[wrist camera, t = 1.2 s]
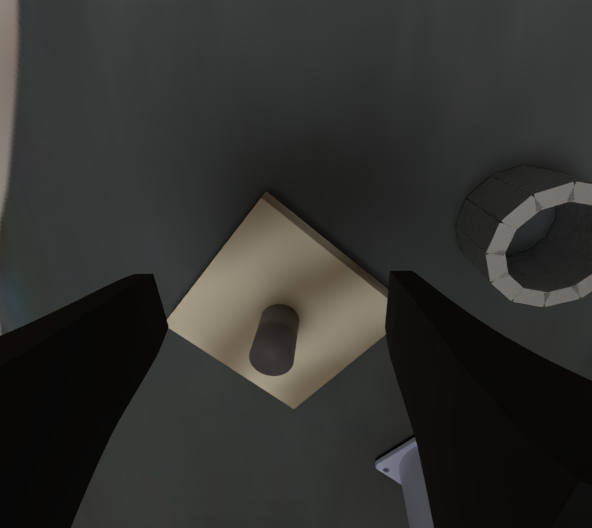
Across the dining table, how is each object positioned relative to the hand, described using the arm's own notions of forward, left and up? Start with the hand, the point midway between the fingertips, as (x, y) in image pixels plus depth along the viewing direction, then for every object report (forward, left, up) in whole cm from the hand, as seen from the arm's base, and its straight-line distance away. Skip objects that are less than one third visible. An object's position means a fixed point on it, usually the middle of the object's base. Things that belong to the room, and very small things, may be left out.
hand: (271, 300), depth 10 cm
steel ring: (-9, -7, -10) cm, 15 cm away
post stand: (-3, +6, -10) cm, 12 cm away
